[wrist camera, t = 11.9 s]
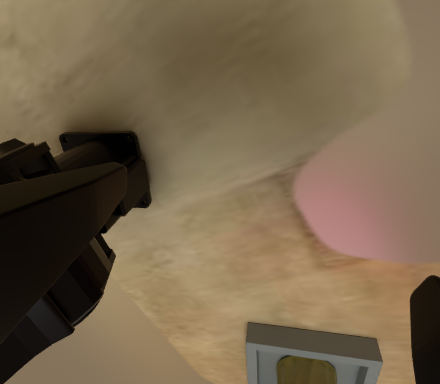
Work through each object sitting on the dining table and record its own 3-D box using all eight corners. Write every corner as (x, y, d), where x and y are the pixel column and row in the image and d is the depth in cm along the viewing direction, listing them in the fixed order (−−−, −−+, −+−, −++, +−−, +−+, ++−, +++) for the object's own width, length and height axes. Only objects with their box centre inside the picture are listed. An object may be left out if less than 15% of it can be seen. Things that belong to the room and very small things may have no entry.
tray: (251, 387, 35) (249, 407, 33) (248, 322, 29) (245, 342, 28) (357, 406, 32) (361, 429, 31) (376, 338, 27) (383, 362, 25)
